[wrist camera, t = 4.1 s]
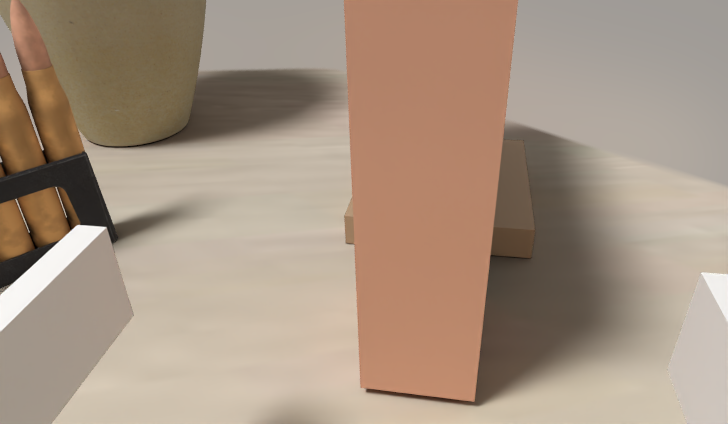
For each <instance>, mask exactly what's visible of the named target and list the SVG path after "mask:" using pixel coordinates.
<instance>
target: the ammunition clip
mask: <svg viewBox="0 0 728 424" xmlns="http://www.w3.org/2000/svg"><path fill="white" fill-rule="evenodd" d="M10 20H11V30H12V36H13V40H14V45H15V49H16V53H17V55H18V59H19V62H20V65H21V68H22V69H21V70H22V74H23V77H24V81H25V84H26V89H27V98H28V104H29V107H30V110H31V113H32V116H33V119H34V122H35V125H36V127H37V131H38V134H39V137H40V140H41V142H42V145H43V148H44V150H43V151H42V149H41V147H40V144H39V141H38V138H37V136H36V133H35V130H34V127H33V125H32V122H31V119H30V116H29V113H28V111H27V108H26V106H25V104H24V102H23V100H22V99H21V97H20V96H19V94H18V92H17V91H16V88H15V86H14V84H13V81H12V79H11V76H10V74H9V73H8V71H7V68H6V66H5V63H4V60H3V58H2V55H1V53H0V156H1V159H2V162H1V163H0V288H2V287H4V286H7V285H9V284H12V283H14V282H15V281H16V280H17V279H18V278H20V277H21V276H22V275H23V274H24V273H25V272H26V271H27V270H28V269H30V268H31V267H32V266H33V265H34V264H35V263H36V262H37V261H38V260H39V259H41V258H42V257H43V256H44V255H45V254H46V253H47V252H48V251H49V250H50V249H52V248H53V247H54V246H55V245H56V244H57V243H58V242H59V241H60V240H61V239H63V238H64V237H65V236H66V235H67V234H68V233H69V232H70V231H71V230H72V229H74V228H75V227H76V226H77V225H86V226H99V227H107V230H108V233H109V236H110V240H111V243H114V242H116V240H117V238H118V236H117V234H116V231H115V228H114V225H113V223H112V220H111V217H110V215H109V212H108V209H107V207H106V204H105V201H104V199H103V196H102V193H101V191H100V188H99V185H98V182H97V180H96V177H95V174H94V172H93V169H92V166H91V164H90V161H89V158H88V156H87V153H86V152H85V150H84V147H83V144H82V141H81V138H80V135H79V132H78V128H77V125H76V122H75V119H74V116H73V113H72V109H71V106H70V103H69V100H68V98H67V96H66V94H65V92H64V90H63V88H62V86H61V84H60V83H59V80H58V78H57V75H56V72H55V69H54V67H53V64H52V63H51V60H50V57H49V54H48V51H47V48H46V46H45V43H44V41H43V39H42V37H41V34H40V32H39V30H38V28H37V26H36V24H35V22H34V21H33V19H32V17H31V16H30V14H29V12H28V11H27V9H26V8H25V7H24V5H23V4H22V3H21V2H20V1H19V0H11V6H10ZM55 187H57V189H58V192H59V195H60V198H61V201H62V204H63V207H64V209H65V212H66V215H67V218H66V216H65V213H64V211H63V208H62V205H61V202H60V199H59V197H58V194H57V191H56V188H55ZM15 199H17V200H18V203H19V205H20V208H21V211H22V213H23V216H24V218H25V221H26V223H27V226H28V229H29V231H30V233H29V232H28V230H27V227H26V225H25V222H24V220H23V217H22V215H21V212H20V210H19V207H18V205H17V203H16V200H15Z"/></svg>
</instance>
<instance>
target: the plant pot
mask: <svg viewBox="0 0 728 424" xmlns="http://www.w3.org/2000/svg"><path fill="white" fill-rule="evenodd" d="M19 1H20V2H21V3H22V4H23V5H24V7H25V8H26V9H27V11H28V12H29V14H30V16H31V17H32V19H33V21H34V22H35V24H36V26H37V28H38V30H39V32H40V34H41V37H42V39H43V41H44V43H45V46H46V48H47V51H48V54H49V57H50V60H51V63H52V64H53V67H54V69H55V72H56V75H57V78H58V80H59V83H60V84H61V86H62V88H63V90H64V92H65V94H66V96H67V98H68V100H69V103H70V106H71V109H72V113H73V116H74V119H75V122H76V125H77V128H78V129H79V130H80V132H81V133H82V134H83V135H84V136H85V138H86V139H87V140H89V141H91V142H93V143H96V144H100V145H105V146H133V145H141V144H146V143H151V142H155V141H158V140H162V139H164V138H167V137H170V136H172V135H174V134H176V133H178V132H179V131H181V130H182V129H183V128H184V127H185V126H186V125H187V123H188V121H189V117H190V112H191V108H192V103H193V98H194V92H195V87H196V81H197V75H198V69H199V62H200V55H201V48H202V39H203V31H204V20H205V9H206V0H19ZM10 6H11V0H0V15H1V17H2V18H3V20H4V22H5V23H6V25H7V26H8V28H9V30H10V31H11V33H12V30H11V20H10Z"/></svg>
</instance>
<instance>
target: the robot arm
mask: <svg viewBox="0 0 728 424" xmlns="http://www.w3.org/2000/svg"><path fill="white" fill-rule="evenodd" d="M133 316H134V314H133V311H132V307H131V304H130V301H129V298H128V294H127V291H126V288H125V285H124V282H123V278H122V275H121V272H120V269H119V265H118V262H117V259H116V256H115V253H114V249H113V246H112V243H111V240H110V236H109V233H108V230H107V227H99V226H86V225H77V226H76V227H75V228H74V229H72V230H71V231H70V232H69V233H68V234H67V235H66V236H65V237H64V238H63V239H61V240H60V241H59V242H58V243H57V244H56V245H55V246H54V247H53V248H52V249H50V250H49V251H48V252H47V253H46V254H45V255H44V256H43V257H42V258H41V259H39V260H38V261H37V262H36V263H35V264H34V265H33V266H32V267H31V268H30V269H28V270H27V271H26V272H25V273H24V274H23V275H22V276H21V277H20V278H18V279H17V280H16V281H15V282H14V283H13V284H12V285H11V286H10V287H9V288H7V289H6V290H5V291H4V292H3V293H2V294H1V295H0V424H52V422H53V421H54V420H55V418H56V417H57V416H58V414H59V413H60V412H61V411H62V409H63V408H64V407H65V405H66V404H67V403H68V401H69V400H70V399H71V397H72V396H73V395H74V393H75V392H76V391H77V389H78V388H79V387H80V385H81V384H82V383H83V382H84V380H85V379H86V378H87V376H88V375H89V374H90V372H91V371H92V370H93V368H94V367H95V366H96V364H97V363H98V362H99V360H100V359H101V358H102V356H103V355H104V354H105V353H106V351H107V350H108V349H109V347H110V346H111V345H112V343H113V342H114V341H115V339H116V338H117V337H118V335H119V334H120V333H121V331H122V330H123V329H124V328H125V326H126V325H127V324H128V322H129V321H130V320H131V318H132V317H133ZM667 371H668V373H669V376H670V379H671V382H672V384H673V387H674V390H675V393H676V395H677V398H678V401H679V403H680V406H681V409H682V412H683V414H684V417H685V420H686V423H687V424H728V274H716V273H703V272H701V273H700V276H699V279H698V282H697V285H696V288H695V291H694V294H693V296H692V299H691V302H690V305H689V308H688V311H687V314H686V316H685V319H684V322H683V325H682V328H681V331H680V334H679V337H678V339H677V342H676V345H675V348H674V351H673V354H672V357H671V360H670V362H669V365H668V368H667Z"/></svg>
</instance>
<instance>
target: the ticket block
mask: <svg viewBox="0 0 728 424" xmlns="http://www.w3.org/2000/svg"><path fill="white" fill-rule="evenodd" d="M344 217H345V236H346V243H351V244H354V221H353V198H351V201H350V203H349V206H348V208H347V211H346V213H345V216H344ZM534 236H535V223H534V216H533V208H532V201H531V193H530V185H529V178H528V170H527V162H526V155H525V147H524V140H504V139H503V144H502V153H501V162H500V171H499V181H498V190H497V199H496V208H495V217H494V227H493V236H492V245H491V254H490V255H497V256H510V257H522V258H531V255H532V249H533V242H534Z"/></svg>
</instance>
